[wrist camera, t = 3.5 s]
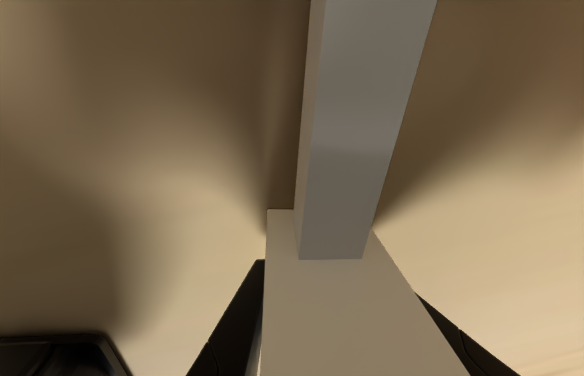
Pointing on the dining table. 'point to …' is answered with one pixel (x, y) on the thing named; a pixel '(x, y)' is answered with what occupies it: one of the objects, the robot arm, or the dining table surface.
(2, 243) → the dining table surface
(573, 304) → the dining table surface
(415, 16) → the grey bar
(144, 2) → the dining table surface
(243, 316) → the robot arm
